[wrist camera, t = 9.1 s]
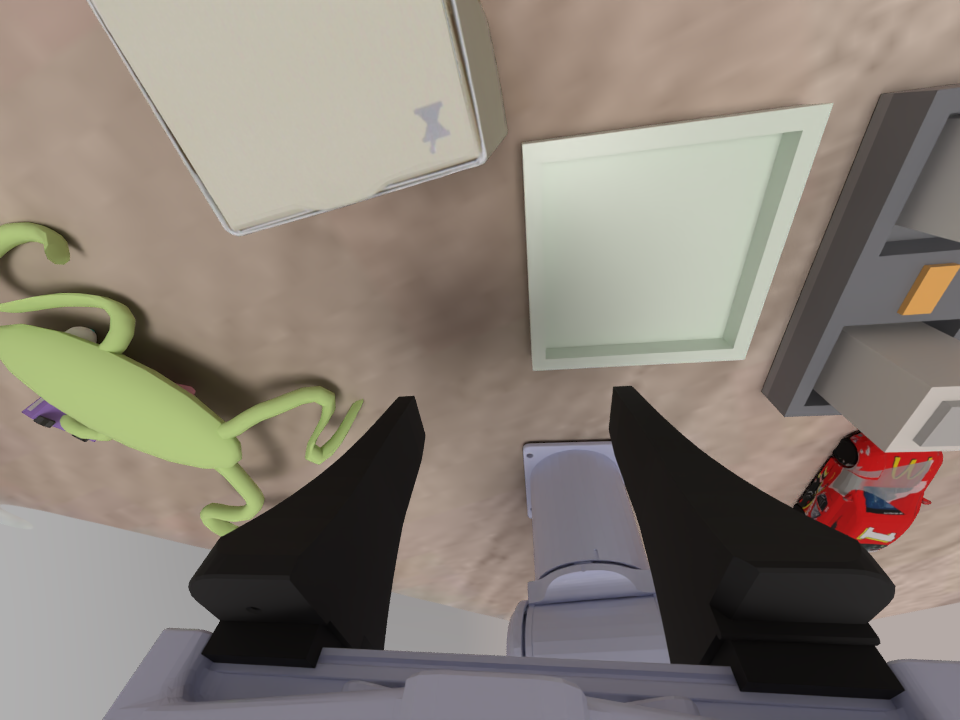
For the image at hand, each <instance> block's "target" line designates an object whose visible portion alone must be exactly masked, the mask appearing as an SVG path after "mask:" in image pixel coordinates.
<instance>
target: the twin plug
mask: <svg viewBox="0 0 960 720" xmlns="http://www.w3.org/2000/svg"><path fill="white" fill-rule="evenodd" d="M813 389H814V390H815V391H816V392H817V393H818V394H819V395H820V396H822V397H823V398H824V399H825V400H826V401H827V402H828V403H829V404H831V405H832V406H833V407H834V408H835V409H836V410H837V411H838V412H840V413H841V414H842V415H843V416H844V417H845V418H846V419H847V420H848V421H850V422H851V423H852V424H853V425H854V426H855V427H856V428H857V429H859V430H860V431H861V432H862V433H863V434H864V435H865V436H866V437H868V438H869V439H870V440H871V441H872V442H873V443H874V444H875V445H877V446H878V447H879V448H880V449H881V450H882V451H883V452H929V451H960V341H959V340H957V339H955V338H953V337H951V336H949V335H947V334H945V333H943V332H941V331H939V330H937V329H935V328H933V327H931V326H929V325H927V324H925V323H923V322H921V321H919V322H903V323H887V324H871V325H855V326H844V327H843V329H842V331H841V333H840V335H839V337H838V339H837V341H836V343H835V345H834V347H833V349H832V351H831V353H830V355H829V357H828V359H827V361H826V363H825V365H824V367H823V369H822V371H821V373H820V375H819V377H818V379H817V381H816V383H815V385H814V387H813Z"/></svg>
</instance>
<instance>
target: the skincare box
mask: <svg viewBox="0 0 960 720" xmlns="http://www.w3.org/2000/svg"><path fill="white" fill-rule="evenodd" d="M86 1H87V3H88V4H89V6H90V8H91V10H92V11H93V13H94V15H95V16H96V18H97V19H98V21H99V23H100V24H101V26H102V27H103V29H104V31H105V32H106V34H107V35H108V37H109V39H110V40H111V42H112V43H113V45H114V47H115V49H116V50H117V52H118V54H119V55H120V57H121V59H122V61H123V62H124V64H125V66H126V68H127V69H128V71H129V73H130V75H131V76H132V78H133V79H134V81H135V83H136V84H137V86H138V87H139V89H140V91H141V93H142V94H143V96H144V98H145V99H146V101H147V103H148V104H149V106H150V108H151V110H152V111H153V113H154V115H155V117H156V118H157V120H158V121H159V123H160V125H161V126H162V128H163V130H164V131H165V133H166V134H167V136H168V138H169V139H170V141H171V142H172V144H173V146H174V147H175V149H176V150H177V152H178V154H179V156H180V157H181V159H182V161H183V163H184V164H185V166H186V167H187V169H188V171H189V172H190V174H191V176H192V178H193V179H194V181H195V182H196V184H197V185H198V187H199V189H200V190H201V192H202V193H203V195H204V197H205V198H206V200H207V202H208V203H209V205H210V207H211V208H212V210H213V211H214V213H215V215H216V216H217V218H218V220H219V221H220V223H221V225H222V226H223V228H224V229H225V230H226V231H227V232H229V233H230V234H233V235H236V236H244V235H247V234H251V233H254V232H257V231H261V230H265V229H269V228H272V227H276V226H279V225H283V224H286V223H290V222H293V221H297V220H300V219H304V218H308V217H311V216H314V215H318V214H321V213H325V212H328V211H331V210H335V209H338V208H342V207H345V206H348V205H352V204H355V203H358V202H361V201H364V200H368V199H371V198H374V197H378V196H381V195H384V194H388V193H391V192H394V191H397V190H401V189H404V188H407V187H411V186H414V185H417V184H420V183H424V182H427V181H431V180H434V179H437V178H441V177H444V176H447V175H450V174H453V173H456V172H459V171H463V170H466V169H470V168H473V167H477V166H480V165H482V164H484V163H485V162H486V161H487V160H488V159H489V157H490V156H491V154H492V153H493V152H494V150H495V149H496V148H497V147H498V145H499V144H500V143H501V141H502V140H503V139H504V137H505V136H506V135H507V133H508V130H507V123H506V116H505V110H504V104H503V98H502V91H501V86H500V80H499V74H498V69H497V64H496V58H495V54H494V48H493V44H492V39H491V35H490V31H489V26H488V22H487V18H486V16H485V13H484V10H483V8H482V5H481V2H480V0H86Z"/></svg>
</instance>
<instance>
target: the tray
mask: <svg viewBox="0 0 960 720" xmlns="http://www.w3.org/2000/svg"><path fill="white" fill-rule="evenodd" d="M832 106H833V103H825V104H806V105H796V106H789V107H781V108H774V109H767V110H759V111H752V112H744V113H737V114H729V115H722V116H714V117H707V118H700V119H692V120H685V121H677V122H670V123H662V124H655V125H647V126H640V127H633V128H625V129H618V130H610V131H603V132H595V133H588V134H580V135H573V136H566V137H558V138H551V139H543V140H536V141H528V142H521V145H522V166H523V187H524V208H525V230H526V251H527V272H528V293H529V315H530V336H531V356H532V368H533V371H543V370H561V369H580V368H599V367H617V366H636V365H655V364H673V363H692V362H711V361H729V360H745V357H746V354H747V351H748V348H749V345H750V342H751V339H752V337H753V334H754V331H755V328H756V325H757V322H758V319H759V316H760V314H761V311H762V308H763V305H764V302H765V299H766V296H767V293H768V291H769V288H770V285H771V282H772V279H773V276H774V273H775V270H776V267H777V265H778V262H779V259H780V256H781V253H782V250H783V247H784V244H785V242H786V239H787V236H788V233H789V230H790V227H791V224H792V221H793V218H794V216H795V213H796V210H797V207H798V204H799V201H800V198H801V195H802V193H803V190H804V187H805V184H806V181H807V178H808V175H809V172H810V170H811V167H812V164H813V161H814V158H815V155H816V152H817V149H818V146H819V144H820V141H821V138H822V135H823V132H824V129H825V126H826V123H827V121H828V118H829V115H830V112H831V109H832Z"/></svg>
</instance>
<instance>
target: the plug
mask: <svg viewBox="0 0 960 720" xmlns="http://www.w3.org/2000/svg"><path fill="white" fill-rule="evenodd" d="M895 225H898V226H902V227H906V228H909V229H913V230H917V231H920V232H924V233H928V234H931V235H935V236H939V237H942V238H946V239H950V240H953V241H957V242H960V114H955V115H949V117H948V119H947V121H946V123H945V125H944V127H943V129H942V131H941V133H940V135H939V137H938V139H937V141H936V143H935V145H934V147H933V149H932V151H931V153H930V155H929V157H928V159H927V161H926V163H925V165H924V167H923V169H922V171H921V173H920V175H919V177H918V179H917V181H916V183H915V185H914V187H913V189H912V191H911V193H910V195H909V197H908V199H907V201H906V203H905V205H904V207H903V209H902V211H901V213H900V215H899V217H898V219H897V221H896V223H895Z"/></svg>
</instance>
